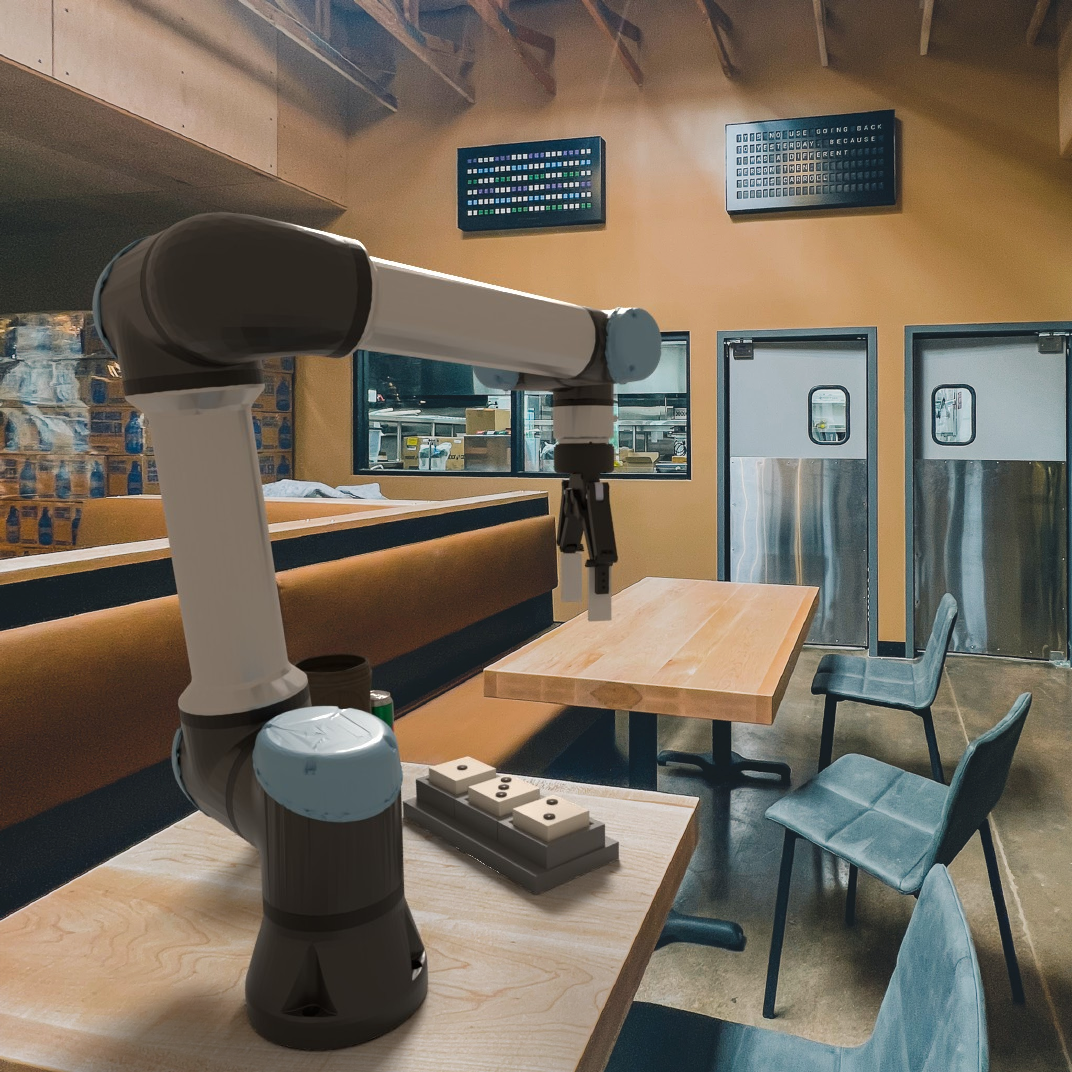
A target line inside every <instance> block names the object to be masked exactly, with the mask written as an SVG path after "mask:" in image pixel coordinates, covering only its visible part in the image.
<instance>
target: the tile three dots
mask: <svg viewBox="0 0 1072 1072" xmlns="http://www.w3.org/2000/svg"><path fill="white" fill-rule="evenodd" d="M540 795H541V788H540V787H538V786H536V785H533V784H531V783H529V782H526V781H525V780H522V779H520V778H517V777H516V776H513V775H511V774H509V773H508V774H504V775H501V777H498V778H495V779H492V780H488V781H485V782H482V783H479V784H476V785H472V786H469V787H468V802H470V803H472V804H474V805H476V806H478V807H480V808H482V809H484V810H486V811H488V812H490V813H492V814H494V815H496V816H498V817H500V816H503V815H505V814H508V813H511V812H513V808H516V807H519V806H522V805H525V804H528V803H531V802H534V801H536V800H539V799H540Z"/></svg>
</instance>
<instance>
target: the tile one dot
mask: <svg viewBox="0 0 1072 1072" xmlns="http://www.w3.org/2000/svg"><path fill="white" fill-rule="evenodd" d="M428 775H429V781H430V782H431V783H433V784H435V785H437V786H439V787H441V788H443V789H445V790H447V791H449V792H451V793H453V794H455V795H457V794H460V793H463V792H466V791H468V787H469V786H472V785H476V784H479V783H482V782H485V781H488V780H492V779H495V778H496V775H497V768H495V767H494V766H491V765H489V764H486V763H484V762H482V761H480V760H477V759H475V758H472V756H471V757H470V756H468V755H467V756H465V757H461V758H458V759H457V758H456V759H453V760H450V761H447V762H443V763H440V764H439V763H438V764H437V765H433V766H430V767H428Z"/></svg>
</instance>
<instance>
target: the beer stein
mask: <svg viewBox="0 0 1072 1072" xmlns="http://www.w3.org/2000/svg"><path fill="white" fill-rule="evenodd" d="M292 665H293V666H295V667H296V668H298V669H300V670H301V671H303V672H304V673H305V674H306V675H307V679H308V684H309V691H310V697H311V704H312V707H315V706H336V707H338V708H339V709H343V710H344V709H348V708H352V709H357V710H361V711H364V712H367V713H370V714H372V712H371V694H370V692H371V691H372V679H373V669H372V668H371V662H370V660H369V657H366V656H364V655H361V654H357V653H356V654H355V653H326V654H319V655H318V654H317V655H313V656H309V657H306V658H303V659H300V660H298V661H295V662H294V663H293V664H292Z"/></svg>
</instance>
